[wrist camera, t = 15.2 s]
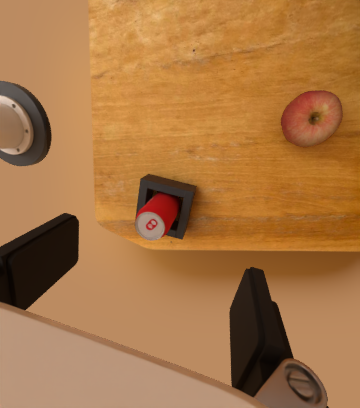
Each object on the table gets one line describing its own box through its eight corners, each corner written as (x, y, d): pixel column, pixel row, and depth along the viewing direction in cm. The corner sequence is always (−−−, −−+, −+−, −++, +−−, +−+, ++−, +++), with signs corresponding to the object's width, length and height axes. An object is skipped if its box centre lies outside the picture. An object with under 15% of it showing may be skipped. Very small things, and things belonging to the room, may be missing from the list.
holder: (142, 217, 48) (134, 226, 44) (148, 173, 44) (140, 178, 40) (186, 229, 46) (182, 239, 42) (196, 186, 42) (193, 192, 38)
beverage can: (148, 202, 46) (124, 225, 35) (166, 183, 44) (146, 201, 33) (168, 221, 47) (151, 249, 36) (187, 203, 44) (175, 228, 33)
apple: (271, 144, 37) (283, 147, 30) (280, 94, 34) (296, 85, 27) (320, 146, 36) (345, 150, 28) (333, 94, 33) (365, 84, 26)
